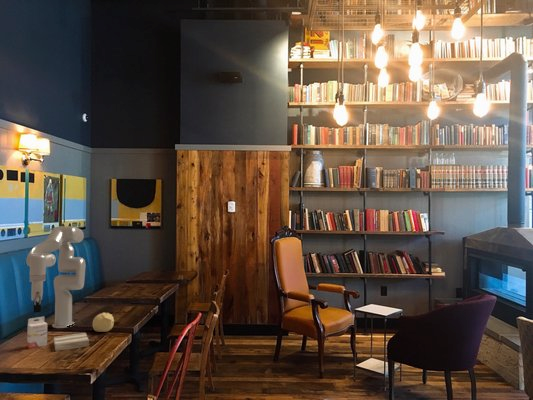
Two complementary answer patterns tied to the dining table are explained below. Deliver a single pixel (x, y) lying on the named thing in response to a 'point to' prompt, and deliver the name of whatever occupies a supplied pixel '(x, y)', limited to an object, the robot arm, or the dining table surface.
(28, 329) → the ink cartridge box
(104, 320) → the sculpture
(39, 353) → the dining table surface
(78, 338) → the stand
